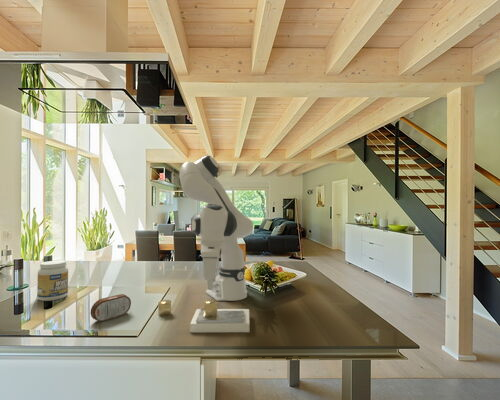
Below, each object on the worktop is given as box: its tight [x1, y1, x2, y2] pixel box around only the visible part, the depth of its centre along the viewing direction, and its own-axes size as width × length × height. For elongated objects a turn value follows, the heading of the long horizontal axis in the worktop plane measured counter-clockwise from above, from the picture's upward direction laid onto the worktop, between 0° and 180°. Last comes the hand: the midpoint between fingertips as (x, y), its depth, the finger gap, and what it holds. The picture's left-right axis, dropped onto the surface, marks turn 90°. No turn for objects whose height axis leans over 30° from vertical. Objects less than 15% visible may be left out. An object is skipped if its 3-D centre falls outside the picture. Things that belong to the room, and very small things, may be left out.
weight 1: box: [157, 299, 172, 318], centre depth 117 cm, size 5×5×5 cm
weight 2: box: [203, 298, 218, 318], centre depth 105 cm, size 5×5×5 cm
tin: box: [90, 293, 132, 322], centre depth 113 cm, size 15×3×8 cm, turn 141°
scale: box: [189, 308, 250, 333], centre depth 107 cm, size 21×14×4 cm, turn 91°
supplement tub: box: [36, 259, 69, 302], centre depth 137 cm, size 12×12×17 cm
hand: (211, 285), depth 106 cm, fingers open, 8 cm apart
